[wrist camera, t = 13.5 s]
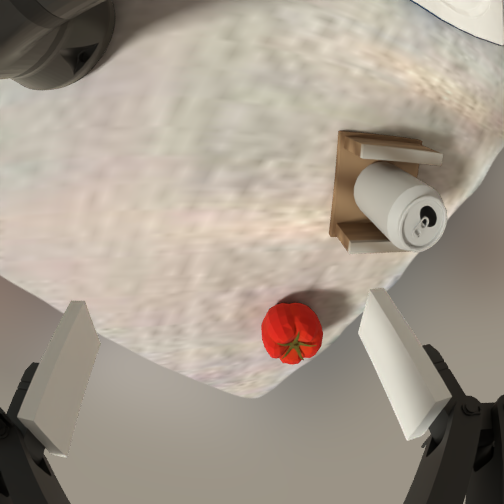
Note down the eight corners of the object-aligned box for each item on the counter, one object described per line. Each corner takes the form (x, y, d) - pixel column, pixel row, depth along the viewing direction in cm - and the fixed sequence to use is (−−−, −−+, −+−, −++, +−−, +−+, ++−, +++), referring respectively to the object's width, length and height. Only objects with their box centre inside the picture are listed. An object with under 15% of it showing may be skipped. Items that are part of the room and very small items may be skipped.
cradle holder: (338, 130, 36) (359, 139, 30) (418, 139, 37) (446, 150, 31) (328, 233, 43) (344, 257, 37) (402, 232, 44) (425, 253, 38)
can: (410, 186, 39) (462, 222, 29) (373, 224, 41) (416, 270, 31) (379, 148, 36) (432, 175, 26) (339, 189, 39) (380, 230, 28)
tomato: (322, 321, 51) (335, 354, 44) (274, 344, 52) (281, 378, 46) (299, 282, 46) (311, 315, 40) (246, 308, 48) (251, 344, 41)
